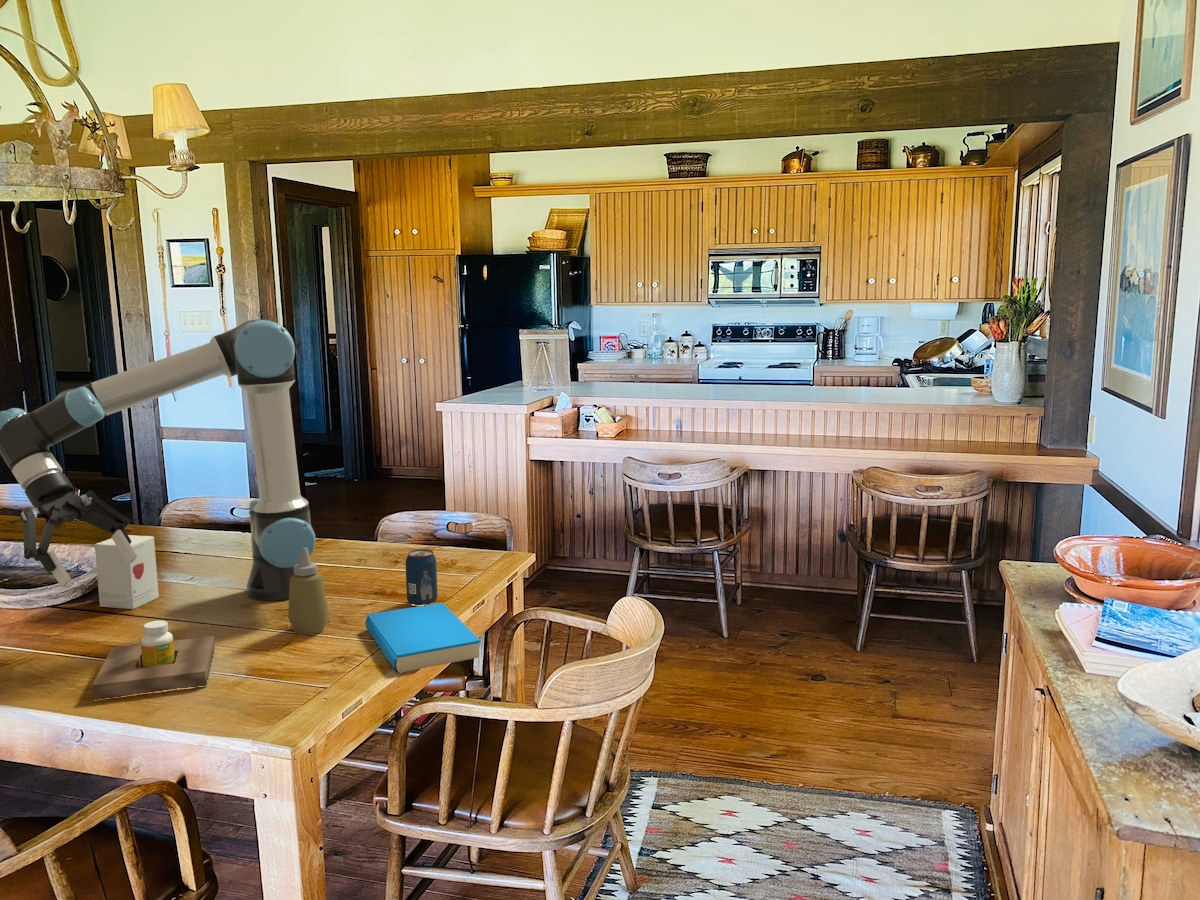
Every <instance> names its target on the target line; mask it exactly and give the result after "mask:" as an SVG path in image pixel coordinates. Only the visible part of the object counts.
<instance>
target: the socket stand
mask: <svg viewBox="0 0 1200 900" xmlns="http://www.w3.org/2000/svg"><path fill="white" fill-rule="evenodd" d="M173 644H174V658H175V663H174V664H166V665H157V666H149V667H143V664H142V652H141V643H140V644H133V645H125V646H115V647H111V649H110V651H109V653H108V655H107V657H106V658H105V661H104V663H103V664H102V666H101V668H100V670H99V672H98V674H97V676H96V678H95V679H94V681H93V682H92V685H91V686H92V696H93V701H94V700H99V699H105V698H113V697H121V696H126V695H127V696H128V695H133V694H140V693H148V692H155V691H163V690H169V689H170V690H171V689H177V688H188V687H198V686H205V685H207V686H208V682H207V680H208V681H209V678H208V676H209V677H210V674H209V672H210V673H211V669H212V665H211V663H212V664H213V661H212V659H213V660H214V656H213V654H214V655H215V652H214V650H215V648H216V647H215V636H214V635H212V636H211V635H210V636H203V637H202V636H201V637H196V638H188V639H187V638H186V639H179V640H178V639H177V640H173ZM215 651H216V650H215ZM210 668H211V669H210Z"/></svg>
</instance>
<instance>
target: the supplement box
mask: <svg viewBox="0 0 1200 900" xmlns="http://www.w3.org/2000/svg"><path fill="white" fill-rule="evenodd" d="M127 535H128V536H129V538H130V539H131V544H130V545H131V547H132V548H133V550H134V552H135V553H136V555H137V557H136V558H135V560H134V561H133V562H132V563H130V564H128V563H127V561H126V560H125V558H124V557H123V555H122V554H121V552H120V550H119V549H118V547H117V546H116V544H115V543H114V541H113V539H112V538H109V539H106V540H103V541H100V542H97V543H95V544H94V553H95V564H96V565H95V567H96V576H97V587H98V588H97V589H98V598H99V599H98V600H99V607H103V608H113V609H114V608H115V609H125V610H126V609H127V610H135V609H137V608H139V607H140V606H141V607H142V606H143V605H145V604H147V603H151V602H152V601H153V600H157V599H159V598H160V595H159V581H158V572H157V570H158V569H157V558H156V546H155V537H154V536H152V535H136V534H135V535H133V534H127Z"/></svg>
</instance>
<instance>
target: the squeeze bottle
mask: <svg viewBox="0 0 1200 900" xmlns="http://www.w3.org/2000/svg"><path fill="white" fill-rule="evenodd" d="M294 574H295V575H293V576H292V577H291V578H290V587H289V599H288V612H287V613H288V614H287V617H288V620H289V623H290V625H291V628H292V630H293V632H294V633H295V635H299V636H312V635H315V634H319V633H321V632H323V631H324V629H325V627H326V626H325V625H326V622H327V618H328V614H329V609H328V604H327V603H328V602H327V597H326V591H325V586H324V578H323V575H322V574H321V573H319V572H318V564H317V563H315V562H312V559H311V555H310V556H309V552H308V549H307V548H302V549H301V554H300V560H299V564H296V565H295V566H294ZM311 634H312V635H311Z"/></svg>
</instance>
